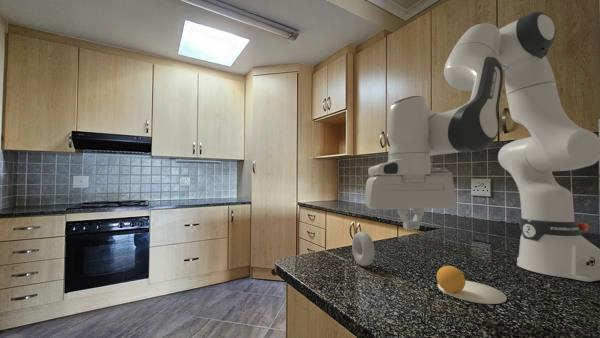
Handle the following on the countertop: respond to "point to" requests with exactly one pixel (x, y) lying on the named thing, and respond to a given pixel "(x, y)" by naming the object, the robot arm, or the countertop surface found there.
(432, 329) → the countertop surface
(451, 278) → the ball
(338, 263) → the countertop surface
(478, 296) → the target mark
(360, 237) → the donut
